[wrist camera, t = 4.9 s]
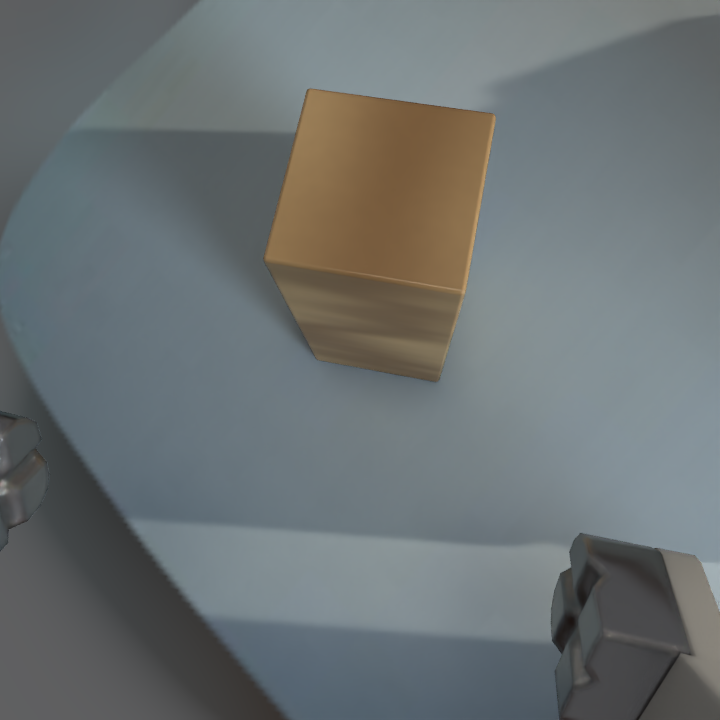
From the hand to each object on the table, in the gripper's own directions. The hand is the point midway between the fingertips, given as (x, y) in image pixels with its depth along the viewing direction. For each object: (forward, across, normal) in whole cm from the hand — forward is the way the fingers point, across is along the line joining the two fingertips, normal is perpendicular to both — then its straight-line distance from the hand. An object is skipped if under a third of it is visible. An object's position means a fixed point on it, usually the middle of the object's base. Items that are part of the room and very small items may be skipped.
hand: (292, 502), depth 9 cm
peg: (+11, 0, +2) cm, 12 cm away
